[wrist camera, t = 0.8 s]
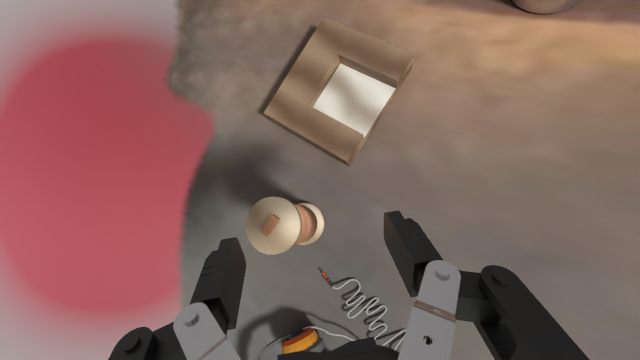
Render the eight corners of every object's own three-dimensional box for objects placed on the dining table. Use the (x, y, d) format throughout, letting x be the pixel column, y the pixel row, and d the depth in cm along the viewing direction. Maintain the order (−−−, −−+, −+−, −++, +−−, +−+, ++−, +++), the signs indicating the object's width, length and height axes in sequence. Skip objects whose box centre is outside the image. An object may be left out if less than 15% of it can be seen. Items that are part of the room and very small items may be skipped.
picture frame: (328, 33, 39) (323, 17, 36) (411, 68, 35) (414, 53, 32) (272, 121, 39) (263, 112, 36) (349, 166, 35) (346, 161, 32)
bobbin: (300, 195, 36) (262, 185, 25) (332, 217, 35) (307, 216, 23) (279, 229, 36) (232, 233, 25) (310, 252, 35) (275, 267, 23)
